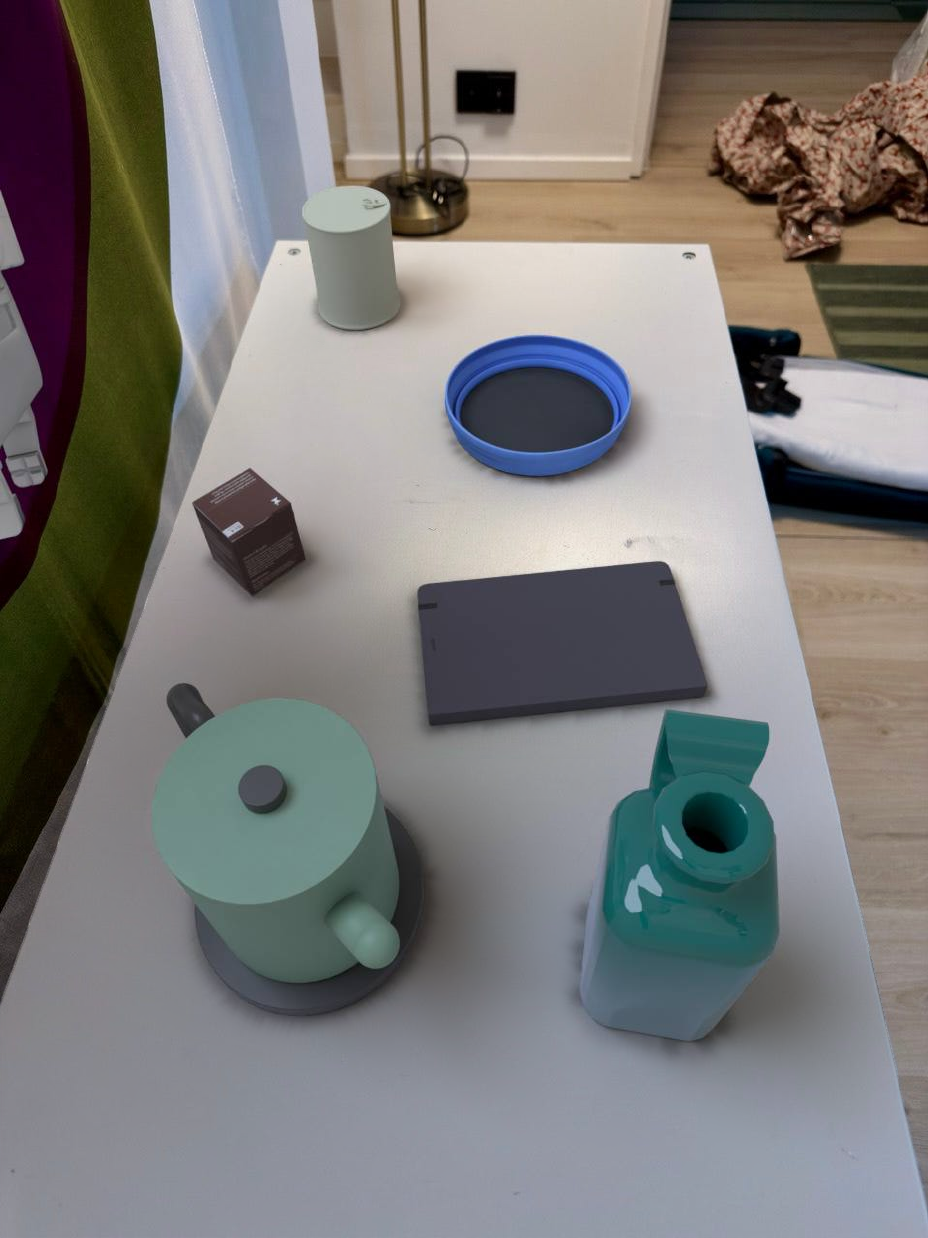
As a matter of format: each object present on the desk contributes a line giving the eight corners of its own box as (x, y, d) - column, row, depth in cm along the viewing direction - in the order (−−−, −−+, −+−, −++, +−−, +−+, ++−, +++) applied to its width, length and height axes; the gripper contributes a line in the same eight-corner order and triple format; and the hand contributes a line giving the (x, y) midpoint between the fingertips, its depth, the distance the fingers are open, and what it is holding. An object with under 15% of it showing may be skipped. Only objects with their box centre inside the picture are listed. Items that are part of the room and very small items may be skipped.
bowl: (655, 461, 85) (661, 433, 82) (471, 499, 83) (470, 470, 80) (592, 349, 95) (595, 320, 93) (427, 379, 93) (425, 350, 90)
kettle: (482, 950, 56) (479, 857, 44) (327, 1089, 52) (276, 1028, 40) (290, 727, 66) (245, 602, 55) (146, 827, 62) (63, 715, 50)
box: (269, 525, 81) (251, 465, 75) (308, 561, 79) (293, 502, 73) (212, 560, 79) (189, 501, 73) (251, 599, 76) (230, 541, 70)
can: (406, 323, 99) (397, 219, 90) (324, 336, 98) (305, 232, 89) (392, 277, 105) (382, 175, 95) (314, 289, 104) (296, 186, 94)
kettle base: (201, 1038, 55) (195, 1033, 54) (199, 816, 64) (194, 807, 63) (441, 989, 57) (440, 983, 55) (406, 778, 66) (404, 769, 64)
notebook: (429, 725, 68) (704, 696, 69) (427, 714, 67) (708, 685, 68) (417, 596, 76) (665, 571, 77) (416, 584, 75) (668, 559, 75)
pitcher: (716, 1048, 54) (821, 929, 37) (576, 1023, 55) (612, 896, 38) (717, 891, 60) (808, 723, 42) (590, 871, 61) (628, 699, 43)
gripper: (-95, 244, 53) (-5, 469, 59) (-231, 270, 35) (-82, 587, 41) (17, 226, 54) (93, 448, 60) (-59, 242, 36) (60, 555, 42)
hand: (21, 506), depth 51 cm, fingers open, 8 cm apart
